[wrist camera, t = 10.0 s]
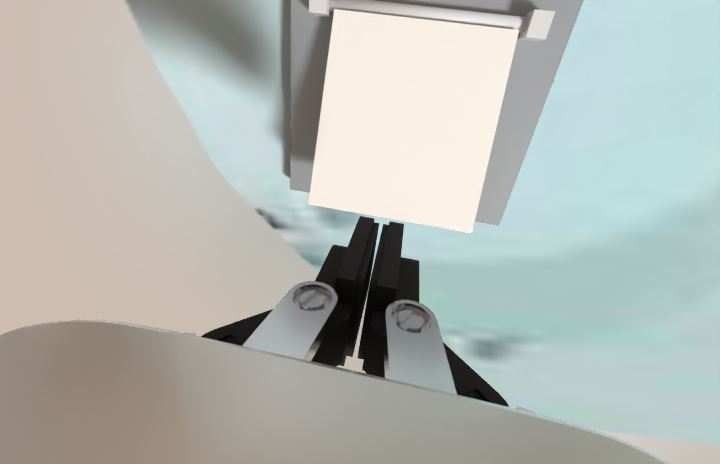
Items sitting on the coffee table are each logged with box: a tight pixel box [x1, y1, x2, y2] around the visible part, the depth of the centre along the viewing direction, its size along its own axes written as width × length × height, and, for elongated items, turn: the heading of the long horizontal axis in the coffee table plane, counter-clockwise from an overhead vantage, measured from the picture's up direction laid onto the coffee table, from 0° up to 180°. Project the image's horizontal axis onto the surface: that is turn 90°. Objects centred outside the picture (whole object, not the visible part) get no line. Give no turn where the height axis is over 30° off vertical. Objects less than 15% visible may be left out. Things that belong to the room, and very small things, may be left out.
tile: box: [308, 9, 519, 233], centre depth 18 cm, size 11×10×1 cm
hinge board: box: [290, 0, 583, 225], centre depth 18 cm, size 24×16×3 cm, turn 173°
